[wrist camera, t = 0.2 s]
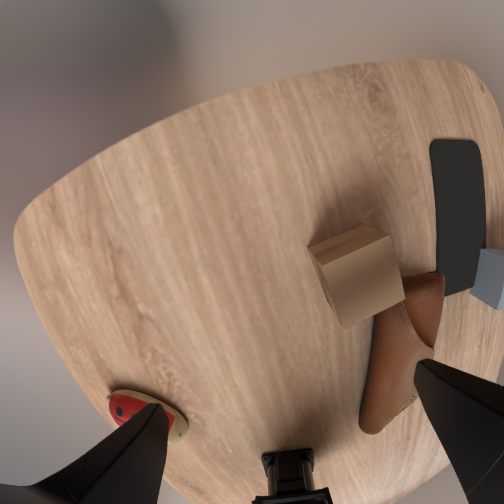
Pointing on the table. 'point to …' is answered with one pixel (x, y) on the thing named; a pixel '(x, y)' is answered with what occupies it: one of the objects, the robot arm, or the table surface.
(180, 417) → the ladybug figurine
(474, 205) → the phone
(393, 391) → the sunglasses case
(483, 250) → the slate block
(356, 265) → the walnut block
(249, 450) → the table surface
